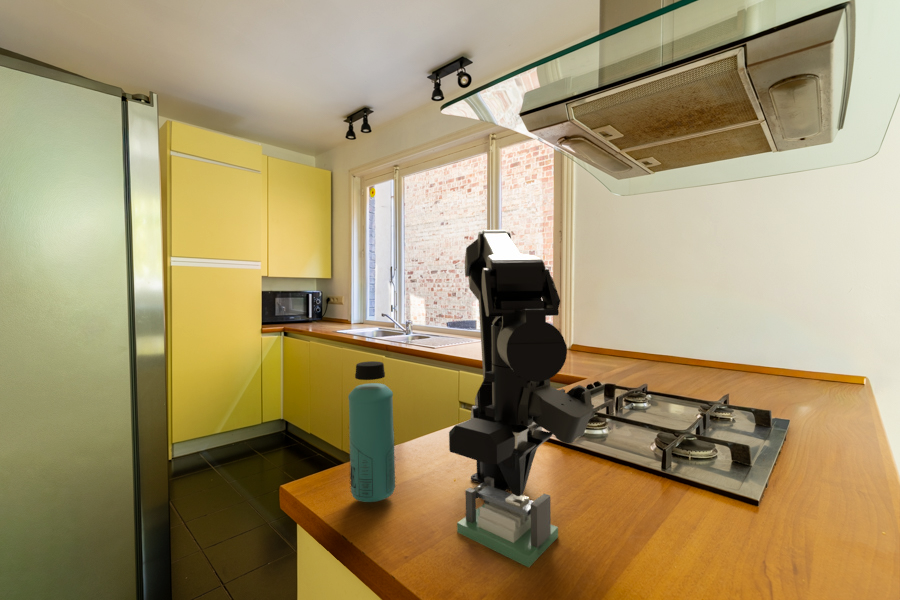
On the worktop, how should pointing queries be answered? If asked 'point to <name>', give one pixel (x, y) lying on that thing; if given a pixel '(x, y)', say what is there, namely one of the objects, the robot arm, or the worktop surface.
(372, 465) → the beverage bottle
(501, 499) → the strap
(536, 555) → the board
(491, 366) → the robot arm
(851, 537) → the worktop surface
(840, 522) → the worktop surface
